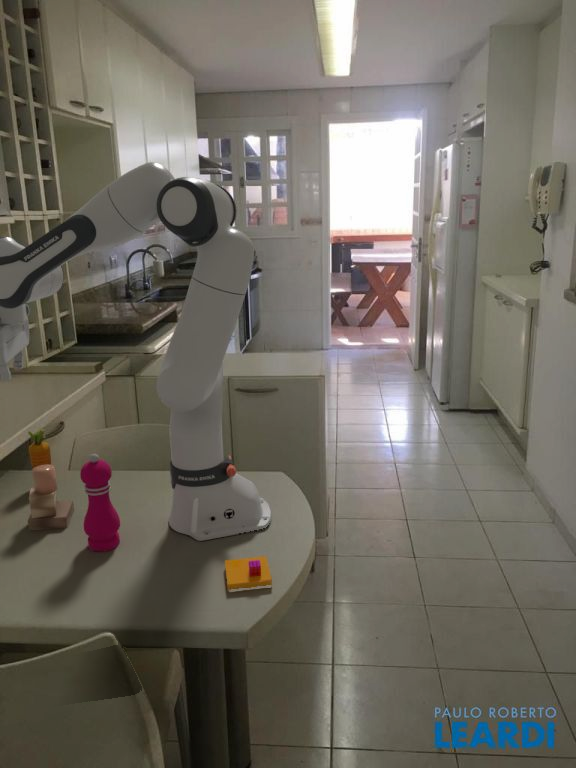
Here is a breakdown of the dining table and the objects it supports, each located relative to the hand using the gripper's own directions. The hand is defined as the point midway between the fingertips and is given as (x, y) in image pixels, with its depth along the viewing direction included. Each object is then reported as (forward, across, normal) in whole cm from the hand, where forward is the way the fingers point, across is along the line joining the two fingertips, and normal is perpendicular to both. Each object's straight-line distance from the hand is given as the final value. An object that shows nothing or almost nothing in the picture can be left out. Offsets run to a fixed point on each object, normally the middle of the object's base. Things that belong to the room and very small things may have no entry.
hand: (13, 374), depth 140 cm
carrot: (+31, +8, -1) cm, 32 cm away
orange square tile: (+32, -40, -49) cm, 70 cm away
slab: (+32, -10, -7) cm, 34 cm away
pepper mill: (+31, -23, -20) cm, 44 cm away
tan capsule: (+24, -11, -7) cm, 27 cm away
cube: (+29, -11, -6) cm, 31 cm away
